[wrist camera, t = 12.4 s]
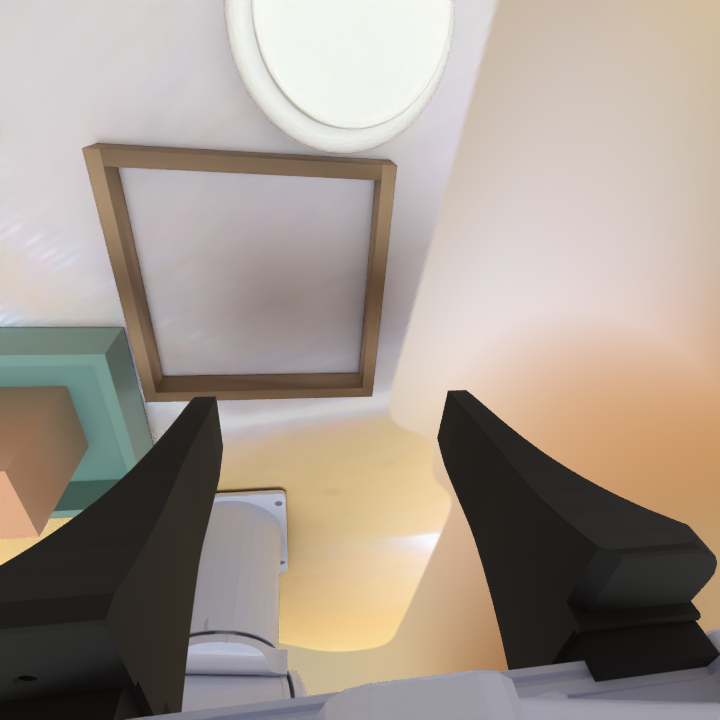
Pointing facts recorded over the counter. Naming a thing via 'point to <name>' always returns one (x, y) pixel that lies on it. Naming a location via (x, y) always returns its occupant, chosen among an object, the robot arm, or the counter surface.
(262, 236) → the counter surface
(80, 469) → the teal tray
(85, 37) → the counter surface
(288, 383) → the walnut frame
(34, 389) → the terracotta block
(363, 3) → the supplement bottle
